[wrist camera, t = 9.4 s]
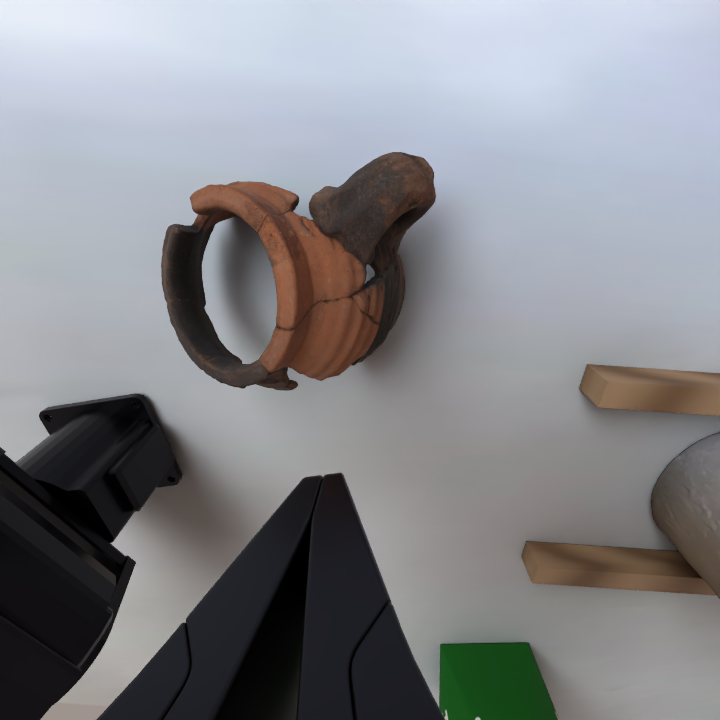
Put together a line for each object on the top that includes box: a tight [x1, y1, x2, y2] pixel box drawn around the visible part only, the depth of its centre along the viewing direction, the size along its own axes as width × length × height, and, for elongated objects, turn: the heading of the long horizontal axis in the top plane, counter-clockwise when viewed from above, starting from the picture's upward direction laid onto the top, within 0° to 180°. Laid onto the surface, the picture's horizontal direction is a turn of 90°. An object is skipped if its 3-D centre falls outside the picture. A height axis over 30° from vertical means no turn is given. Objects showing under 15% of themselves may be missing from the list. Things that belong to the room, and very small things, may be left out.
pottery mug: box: [161, 152, 436, 390], centre depth 17 cm, size 12×10×8 cm
